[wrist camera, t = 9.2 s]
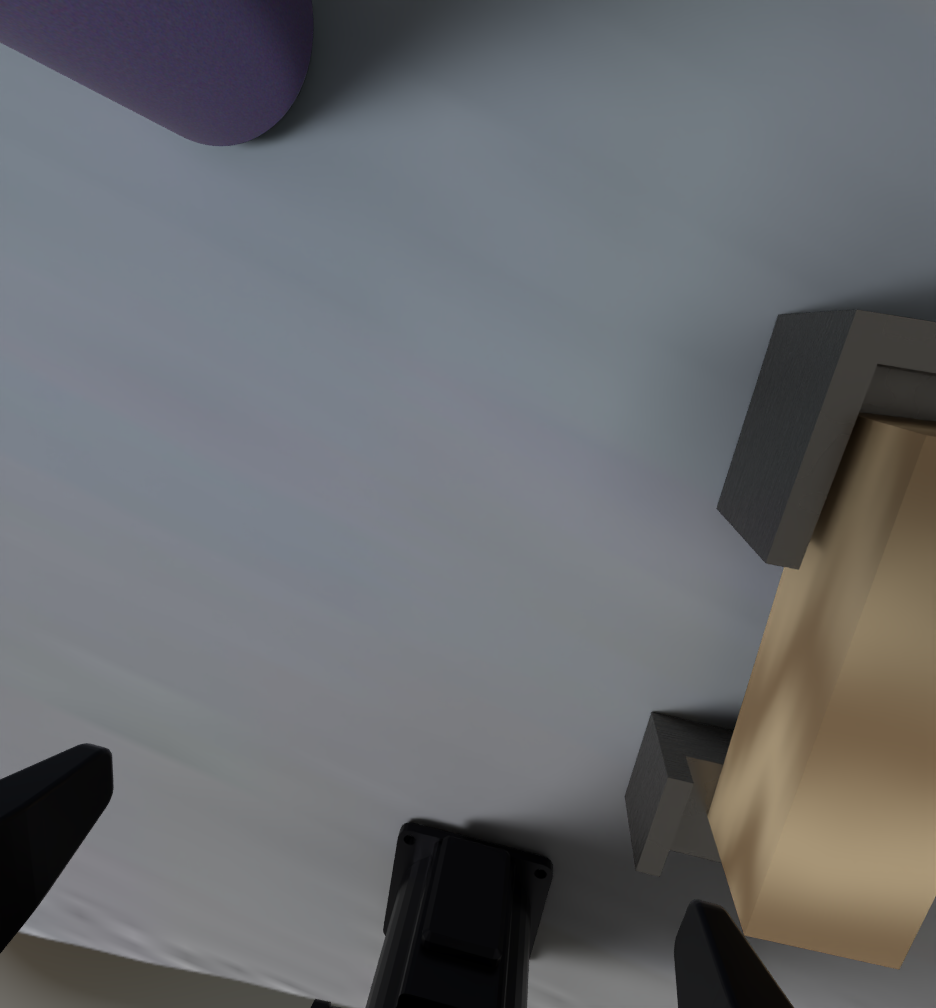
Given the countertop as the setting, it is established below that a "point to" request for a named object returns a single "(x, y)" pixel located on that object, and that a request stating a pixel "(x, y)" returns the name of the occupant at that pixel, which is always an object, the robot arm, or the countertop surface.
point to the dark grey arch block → (674, 791)
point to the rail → (844, 719)
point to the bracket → (819, 417)
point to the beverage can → (175, 57)
